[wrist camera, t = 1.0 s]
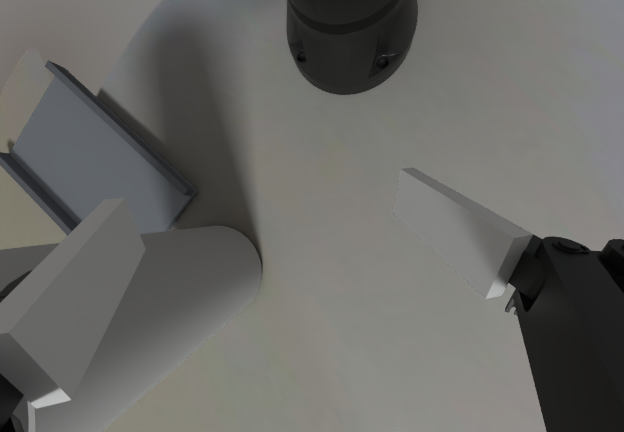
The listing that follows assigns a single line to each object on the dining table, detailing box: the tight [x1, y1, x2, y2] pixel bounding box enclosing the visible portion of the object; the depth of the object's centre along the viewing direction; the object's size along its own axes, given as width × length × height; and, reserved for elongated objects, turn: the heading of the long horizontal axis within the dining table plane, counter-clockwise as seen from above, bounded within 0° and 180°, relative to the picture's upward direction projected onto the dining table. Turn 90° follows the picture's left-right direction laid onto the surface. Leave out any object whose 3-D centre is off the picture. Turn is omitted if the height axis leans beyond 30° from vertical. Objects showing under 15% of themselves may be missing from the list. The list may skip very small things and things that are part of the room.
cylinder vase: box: [0, 226, 262, 432], centre depth 24 cm, size 12×12×25 cm
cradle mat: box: [0, 61, 198, 235], centre depth 38 cm, size 30×18×2 cm, turn 50°
